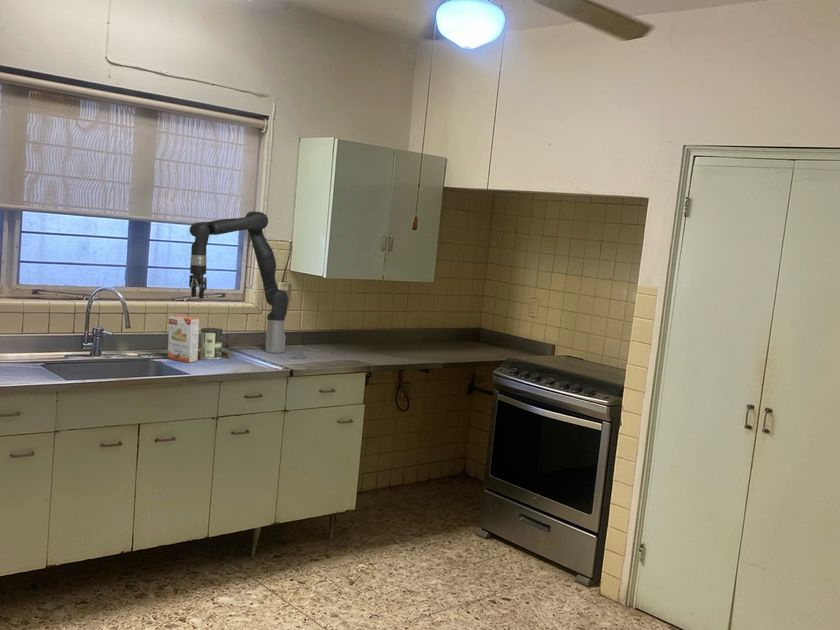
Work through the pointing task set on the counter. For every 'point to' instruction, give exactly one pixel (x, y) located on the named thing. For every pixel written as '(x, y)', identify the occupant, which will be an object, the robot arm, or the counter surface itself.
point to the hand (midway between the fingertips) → (197, 297)
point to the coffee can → (211, 343)
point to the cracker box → (183, 338)
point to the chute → (223, 354)
